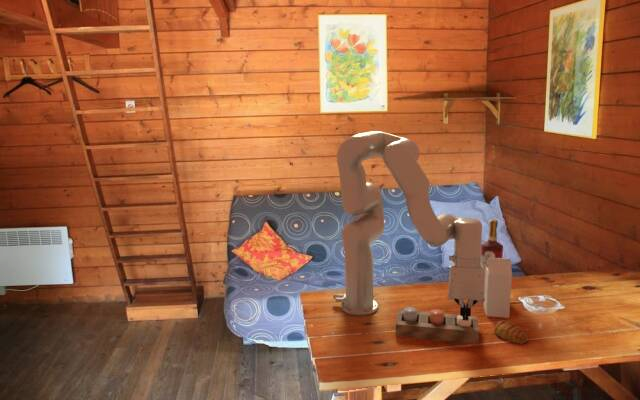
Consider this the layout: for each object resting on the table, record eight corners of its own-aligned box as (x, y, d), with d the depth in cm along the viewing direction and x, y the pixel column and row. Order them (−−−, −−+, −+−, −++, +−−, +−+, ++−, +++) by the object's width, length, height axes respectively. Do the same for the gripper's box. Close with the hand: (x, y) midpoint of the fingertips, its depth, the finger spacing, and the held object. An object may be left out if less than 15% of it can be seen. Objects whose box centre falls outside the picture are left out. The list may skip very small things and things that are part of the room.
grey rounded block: (402, 324, 148) (403, 312, 147) (403, 318, 152) (404, 306, 151) (416, 326, 147) (416, 314, 146) (417, 319, 151) (417, 307, 150)
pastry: (532, 340, 142) (533, 328, 141) (518, 347, 138) (519, 335, 137) (504, 328, 149) (505, 316, 148) (491, 334, 146) (491, 323, 145)
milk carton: (509, 318, 155) (512, 262, 151) (486, 316, 156) (489, 261, 152) (505, 308, 162) (508, 255, 157) (483, 307, 163) (486, 254, 159)
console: (395, 336, 146) (395, 324, 145) (398, 320, 155) (398, 309, 154) (478, 344, 140) (478, 331, 139) (476, 327, 150) (476, 316, 149)
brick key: (429, 327, 146) (429, 315, 145) (429, 320, 150) (430, 308, 149) (443, 328, 145) (444, 316, 144) (443, 321, 149) (444, 310, 148)
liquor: (476, 297, 170) (480, 221, 164) (481, 290, 177) (485, 216, 170) (497, 301, 167) (502, 224, 160) (502, 294, 173) (506, 219, 166)
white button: (456, 332, 144) (457, 320, 143) (456, 326, 148) (456, 314, 147) (471, 334, 143) (471, 321, 142) (470, 327, 147) (471, 315, 146)
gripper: (440, 263, 139) (439, 321, 143) (495, 266, 135) (492, 326, 139) (440, 255, 146) (439, 310, 150) (492, 257, 142) (490, 314, 146)
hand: (465, 318), depth 144 cm, fingers closed
